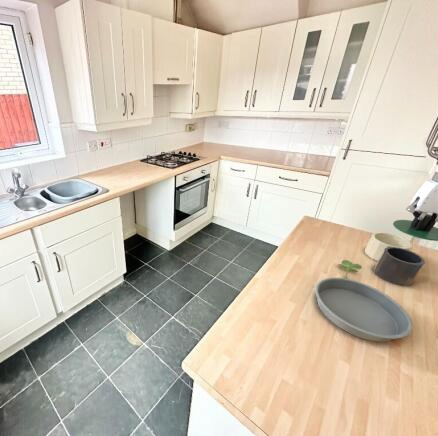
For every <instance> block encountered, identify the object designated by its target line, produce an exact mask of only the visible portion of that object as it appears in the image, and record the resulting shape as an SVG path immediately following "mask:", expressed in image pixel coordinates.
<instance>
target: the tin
mask: <svg viewBox="0 0 438 436" xmlns="http://www.w3.org/2000/svg"><path fill="white" fill-rule="evenodd" d="M387 247H398V248H403V249H406V250H409V251H411V250H412V248H413V243H412V242H411V241H410V240H408V239H406V238H405V237H403V236H400V235H398V234H394V233H390V232H383V231H376V232H374V233H372V234H371V236H370V237H369V240H368V242H367V244H366V246H365V248H364V253H365V255H367V257H369V258H370V259H372V260H374V261H376V262H378V260H379V258H380V256H381V254H382V252H383V251H384V249H385V248H387Z"/></svg>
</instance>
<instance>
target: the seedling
mask: <svg viewBox="0 0 438 436" xmlns="http://www.w3.org/2000/svg"><path fill="white" fill-rule="evenodd" d="M337 265H338V266H339V267H340V268H342V269H345V270H347V271H346V273H345V278H347V277H348V273H349V272H352V273H358V272H359V270H361V269H362V265H360V264H359V263H353V262H352V261H350V260H346V259H343V260H342V261H341V263H338V264H337Z"/></svg>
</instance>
